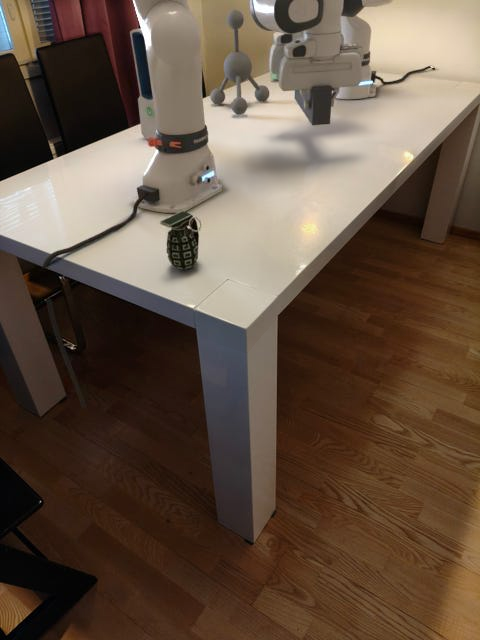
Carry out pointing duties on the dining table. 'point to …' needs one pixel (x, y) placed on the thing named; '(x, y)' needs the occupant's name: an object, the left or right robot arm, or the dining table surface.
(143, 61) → the electronic device
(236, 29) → the molecular model
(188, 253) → the grenade
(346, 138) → the dining table surface
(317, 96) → the bar
